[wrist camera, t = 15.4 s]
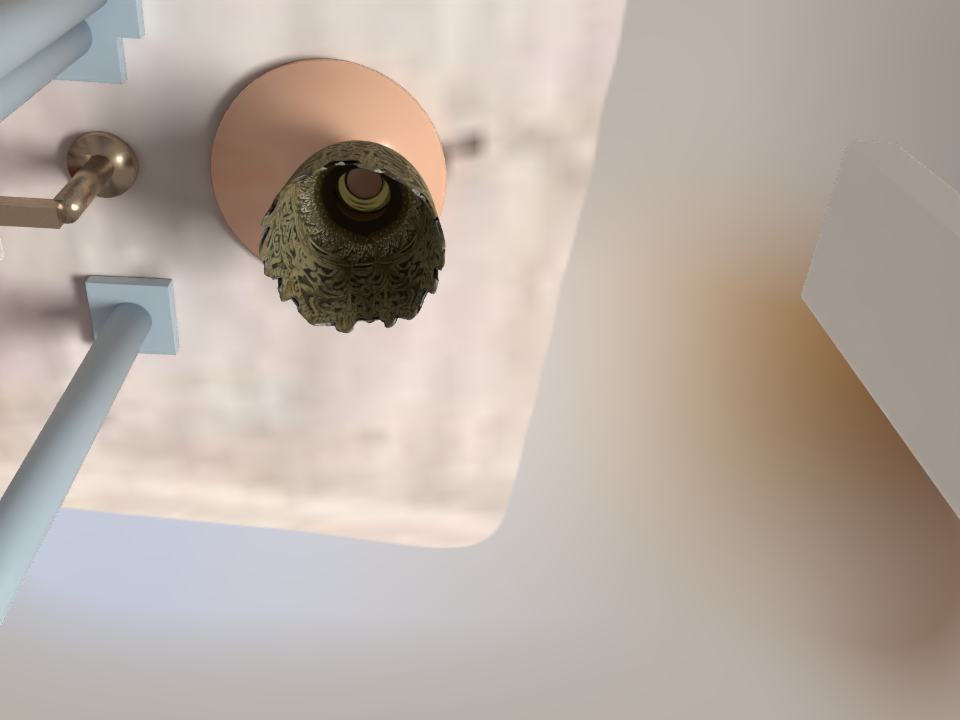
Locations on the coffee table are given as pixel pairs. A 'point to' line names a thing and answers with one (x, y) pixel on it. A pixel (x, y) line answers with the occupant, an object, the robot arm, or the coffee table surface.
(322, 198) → the ornate lamp shade
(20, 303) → the coffee table surface
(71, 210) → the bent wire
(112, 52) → the gate
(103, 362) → the gate
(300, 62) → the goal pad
